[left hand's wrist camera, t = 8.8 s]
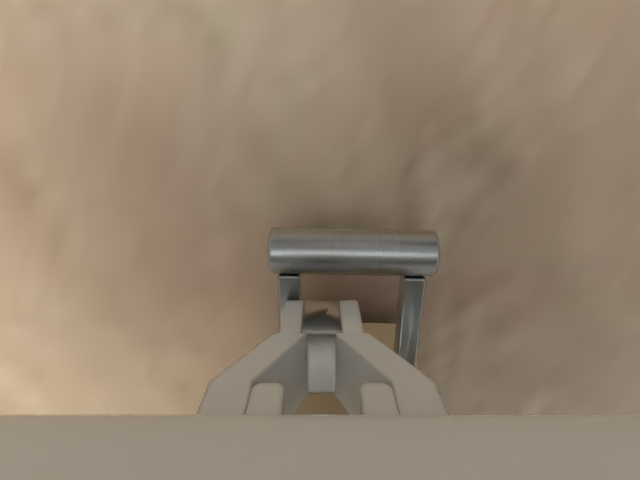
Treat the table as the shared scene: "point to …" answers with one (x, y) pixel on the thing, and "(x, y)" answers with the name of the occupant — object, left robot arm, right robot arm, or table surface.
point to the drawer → (358, 259)
